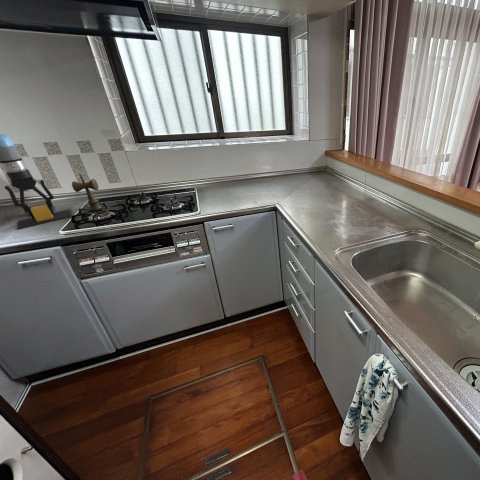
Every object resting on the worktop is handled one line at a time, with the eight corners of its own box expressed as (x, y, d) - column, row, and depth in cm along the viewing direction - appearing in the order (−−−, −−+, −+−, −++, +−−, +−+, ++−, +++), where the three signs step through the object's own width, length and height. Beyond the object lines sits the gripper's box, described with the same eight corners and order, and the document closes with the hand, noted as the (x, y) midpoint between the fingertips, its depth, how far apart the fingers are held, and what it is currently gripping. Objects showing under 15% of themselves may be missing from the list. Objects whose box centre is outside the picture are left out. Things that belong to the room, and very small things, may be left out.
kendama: (105, 210, 145) (89, 174, 135) (84, 213, 142) (65, 176, 132) (108, 206, 150) (92, 171, 140) (87, 209, 147) (70, 173, 137)
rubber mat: (17, 229, 127) (17, 228, 127) (19, 221, 134) (18, 220, 134) (71, 216, 138) (71, 215, 138) (69, 210, 146) (69, 209, 146)
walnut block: (31, 216, 139) (25, 207, 137) (31, 211, 145) (26, 203, 143) (54, 211, 145) (49, 203, 142) (53, 206, 150) (48, 198, 148)
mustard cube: (37, 221, 133) (30, 210, 129) (37, 218, 136) (30, 207, 133) (53, 218, 136) (46, 207, 133) (52, 214, 140) (46, 204, 137)
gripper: (-16, 176, 116) (16, 223, 127) (45, 167, 127) (68, 211, 139) (-13, 173, 120) (17, 219, 132) (44, 164, 132) (67, 207, 143)
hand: (43, 215), depth 135 cm, fingers open, 7 cm apart
